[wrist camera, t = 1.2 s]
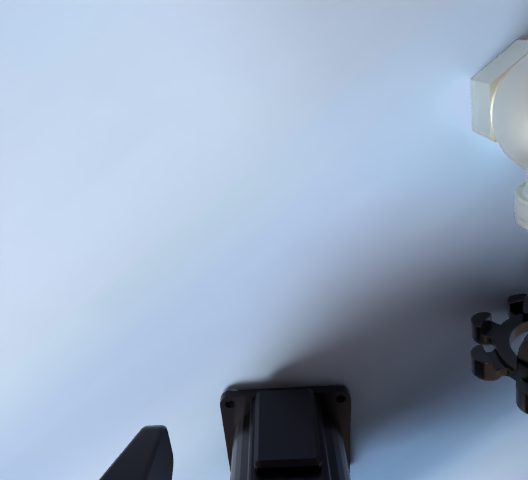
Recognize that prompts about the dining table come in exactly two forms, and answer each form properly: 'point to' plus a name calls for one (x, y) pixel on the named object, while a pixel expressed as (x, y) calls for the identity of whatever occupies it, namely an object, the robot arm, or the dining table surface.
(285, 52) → the dining table surface
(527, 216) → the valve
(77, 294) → the dining table surface
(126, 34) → the dining table surface
